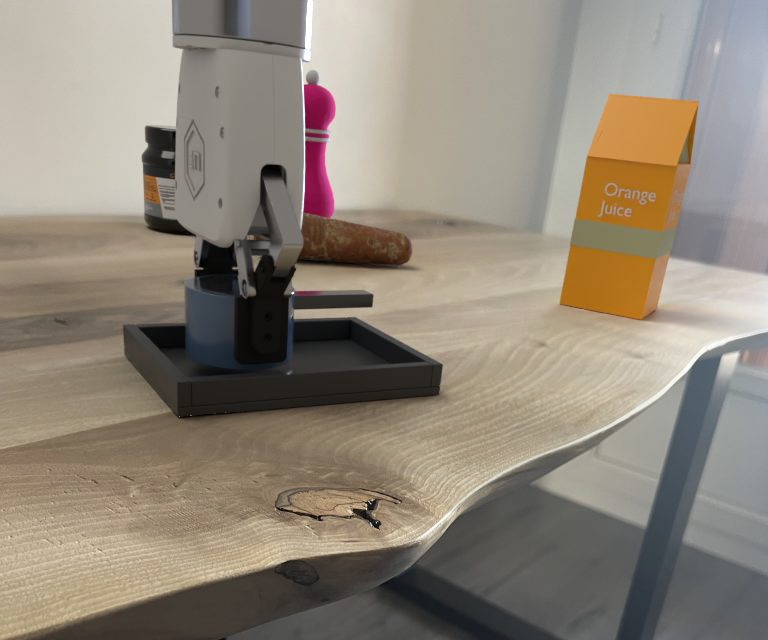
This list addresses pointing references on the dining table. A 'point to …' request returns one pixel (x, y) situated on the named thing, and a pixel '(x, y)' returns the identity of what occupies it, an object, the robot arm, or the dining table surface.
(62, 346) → the dining table surface
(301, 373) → the tray
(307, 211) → the pepper mill
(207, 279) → the pan
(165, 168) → the supplement container
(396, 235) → the brown elongated bar
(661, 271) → the orange juice
